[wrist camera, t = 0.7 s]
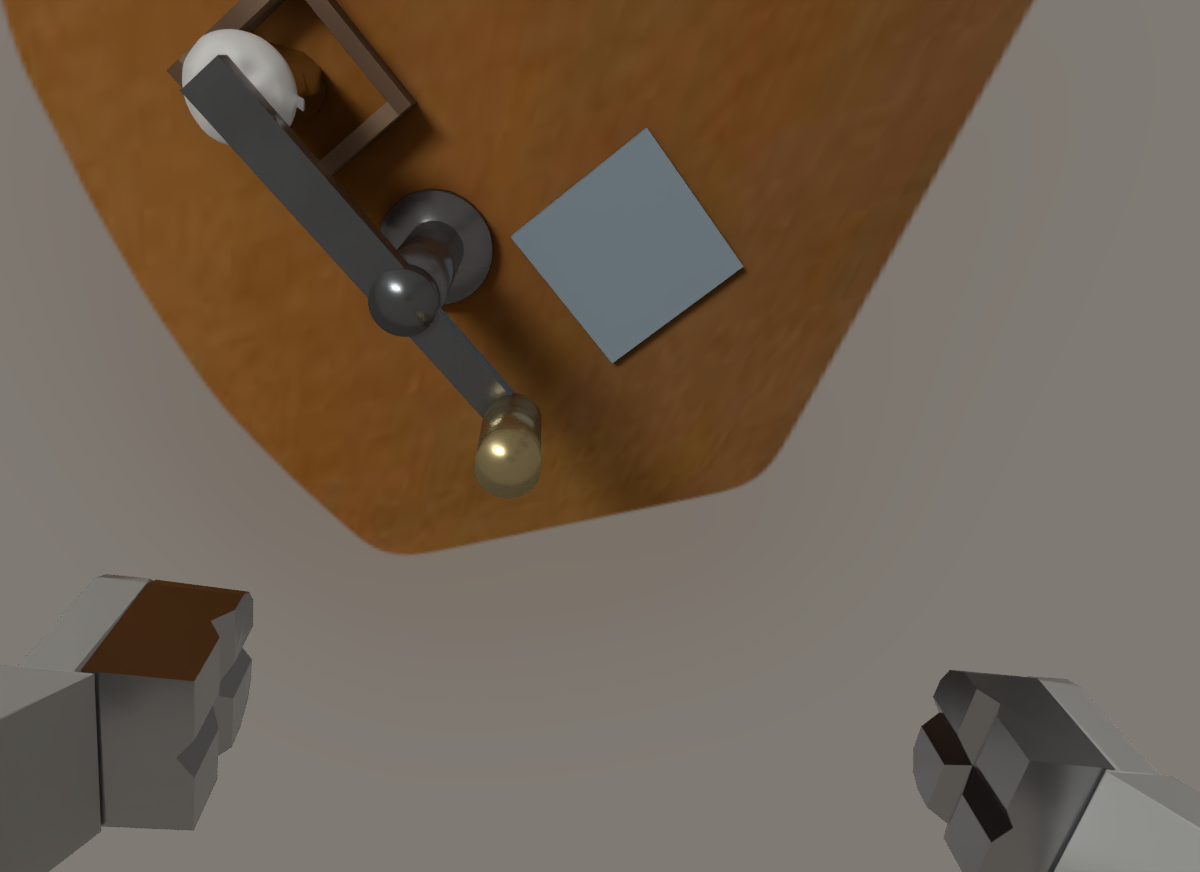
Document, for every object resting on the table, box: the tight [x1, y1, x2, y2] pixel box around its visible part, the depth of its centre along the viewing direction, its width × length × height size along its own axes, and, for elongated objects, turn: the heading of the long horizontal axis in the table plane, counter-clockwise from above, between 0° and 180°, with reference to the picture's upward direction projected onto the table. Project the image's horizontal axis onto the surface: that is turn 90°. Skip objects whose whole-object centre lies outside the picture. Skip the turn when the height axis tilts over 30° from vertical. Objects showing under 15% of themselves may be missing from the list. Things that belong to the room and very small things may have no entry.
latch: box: [180, 55, 541, 498], centre depth 33 cm, size 3×19×6 cm, turn 37°
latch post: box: [380, 189, 493, 308], centre depth 41 cm, size 6×6×10 cm
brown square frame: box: [167, 0, 417, 176], centre depth 42 cm, size 8×8×2 cm
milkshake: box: [182, 29, 327, 146], centre depth 38 cm, size 5×5×10 cm
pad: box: [511, 128, 743, 363], centre depth 46 cm, size 9×9×1 cm
